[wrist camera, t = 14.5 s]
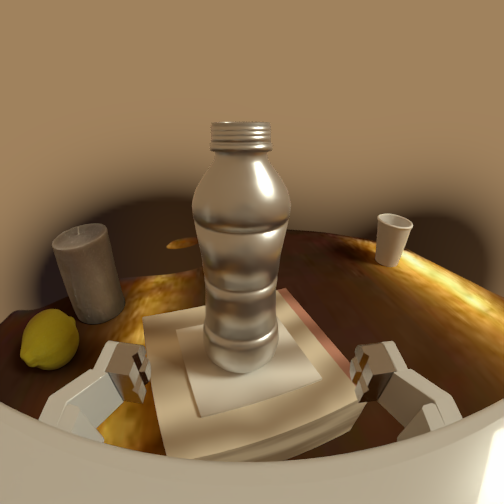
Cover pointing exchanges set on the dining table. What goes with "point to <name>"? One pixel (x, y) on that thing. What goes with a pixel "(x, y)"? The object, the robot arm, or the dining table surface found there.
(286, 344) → the riser block
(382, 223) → the dixie cup
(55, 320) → the lemon
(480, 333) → the dining table surface
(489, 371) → the dining table surface
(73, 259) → the pillar candle
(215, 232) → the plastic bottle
